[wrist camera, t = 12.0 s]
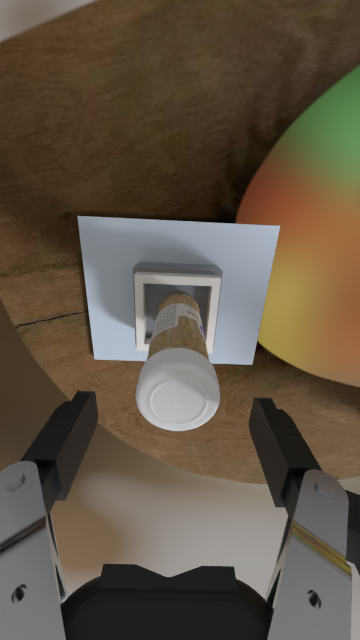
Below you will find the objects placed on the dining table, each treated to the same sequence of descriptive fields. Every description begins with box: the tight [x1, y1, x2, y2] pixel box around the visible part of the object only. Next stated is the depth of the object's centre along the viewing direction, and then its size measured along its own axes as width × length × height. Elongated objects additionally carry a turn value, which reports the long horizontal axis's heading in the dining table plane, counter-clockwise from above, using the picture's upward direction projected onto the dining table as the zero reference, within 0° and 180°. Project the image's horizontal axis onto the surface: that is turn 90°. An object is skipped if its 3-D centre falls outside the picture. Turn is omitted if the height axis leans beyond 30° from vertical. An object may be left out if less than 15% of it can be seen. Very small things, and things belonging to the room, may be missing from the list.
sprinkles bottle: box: [136, 293, 220, 431], centre depth 18 cm, size 5×5×13 cm
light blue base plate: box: [77, 216, 280, 365], centre depth 26 cm, size 22×18×6 cm
